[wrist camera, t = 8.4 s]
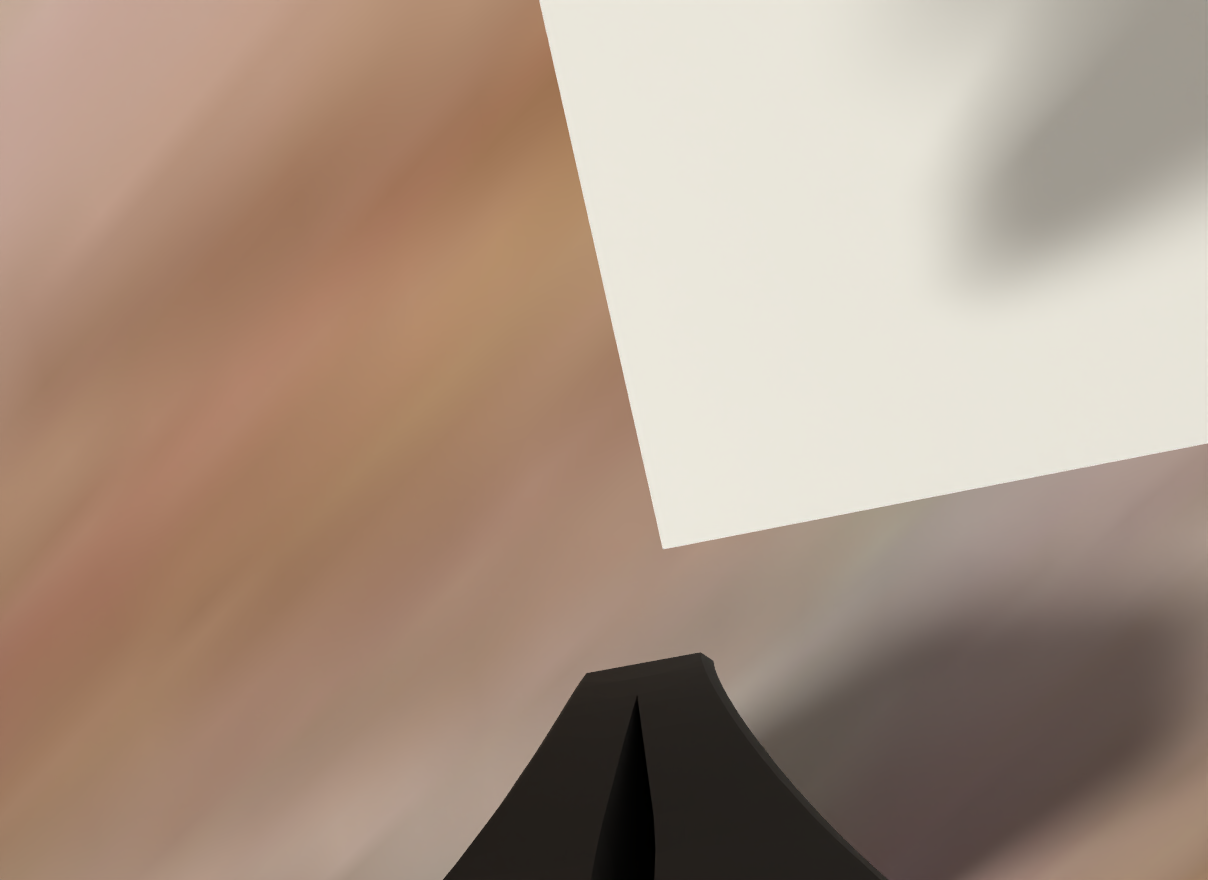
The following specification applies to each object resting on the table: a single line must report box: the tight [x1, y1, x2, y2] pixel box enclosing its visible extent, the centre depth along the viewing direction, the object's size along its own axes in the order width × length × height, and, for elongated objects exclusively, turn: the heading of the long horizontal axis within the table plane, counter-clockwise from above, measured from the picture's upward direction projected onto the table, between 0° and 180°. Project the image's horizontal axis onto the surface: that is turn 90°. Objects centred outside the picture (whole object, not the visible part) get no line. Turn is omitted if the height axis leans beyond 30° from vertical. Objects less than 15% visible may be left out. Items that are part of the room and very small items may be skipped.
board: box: [539, 0, 1208, 549], centre depth 15 cm, size 12×14×2 cm
